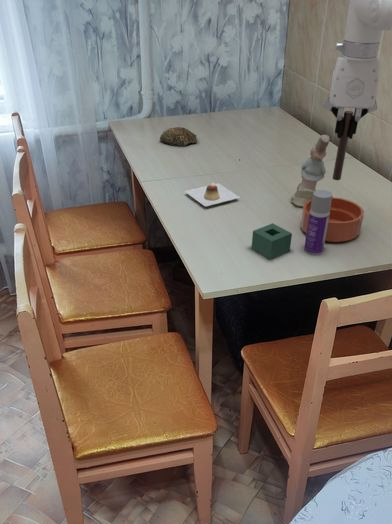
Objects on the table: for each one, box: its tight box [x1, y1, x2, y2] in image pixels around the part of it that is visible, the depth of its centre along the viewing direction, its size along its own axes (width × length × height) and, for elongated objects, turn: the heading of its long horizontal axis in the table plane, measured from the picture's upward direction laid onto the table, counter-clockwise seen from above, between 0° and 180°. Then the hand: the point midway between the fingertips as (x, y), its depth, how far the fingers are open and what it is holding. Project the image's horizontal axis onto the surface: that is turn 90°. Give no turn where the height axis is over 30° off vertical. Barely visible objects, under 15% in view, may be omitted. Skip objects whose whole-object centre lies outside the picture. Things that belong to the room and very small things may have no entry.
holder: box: [251, 222, 293, 260], centre depth 135 cm, size 7×7×5 cm
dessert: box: [183, 181, 241, 208], centre depth 158 cm, size 12×12×5 cm
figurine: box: [291, 134, 331, 208], centre depth 152 cm, size 9×8×20 cm
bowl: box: [300, 196, 365, 243], centre depth 143 cm, size 15×15×6 cm
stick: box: [332, 110, 354, 181], centre depth 130 cm, size 2×2×16 cm
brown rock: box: [159, 126, 198, 147], centre depth 196 cm, size 13×12×5 cm
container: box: [303, 189, 333, 256], centre depth 131 cm, size 5×5×15 cm
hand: (344, 136), depth 129 cm, fingers closed on stick, 2 cm apart
